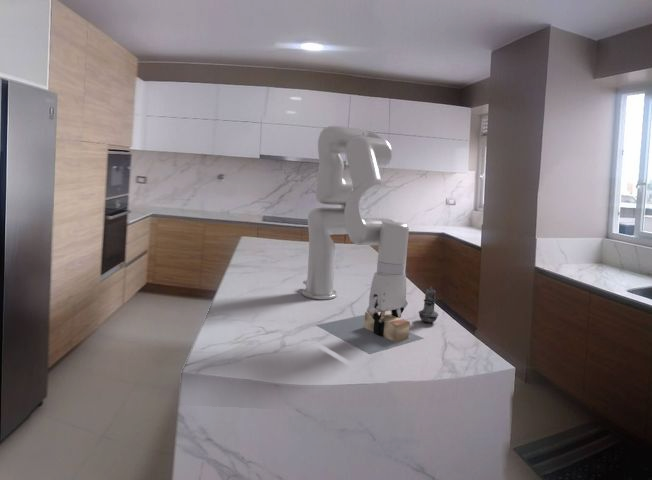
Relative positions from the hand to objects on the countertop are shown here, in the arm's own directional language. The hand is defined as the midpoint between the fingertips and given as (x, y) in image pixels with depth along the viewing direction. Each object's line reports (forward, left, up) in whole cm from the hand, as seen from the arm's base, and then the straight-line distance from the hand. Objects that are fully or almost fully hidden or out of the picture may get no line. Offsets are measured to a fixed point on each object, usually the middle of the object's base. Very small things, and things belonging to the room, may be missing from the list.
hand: (385, 332), depth 112 cm
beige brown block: (0, 0, 0) cm, 0 cm away
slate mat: (-3, -3, -1) cm, 5 cm away
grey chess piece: (0, +18, -1) cm, 18 cm away
